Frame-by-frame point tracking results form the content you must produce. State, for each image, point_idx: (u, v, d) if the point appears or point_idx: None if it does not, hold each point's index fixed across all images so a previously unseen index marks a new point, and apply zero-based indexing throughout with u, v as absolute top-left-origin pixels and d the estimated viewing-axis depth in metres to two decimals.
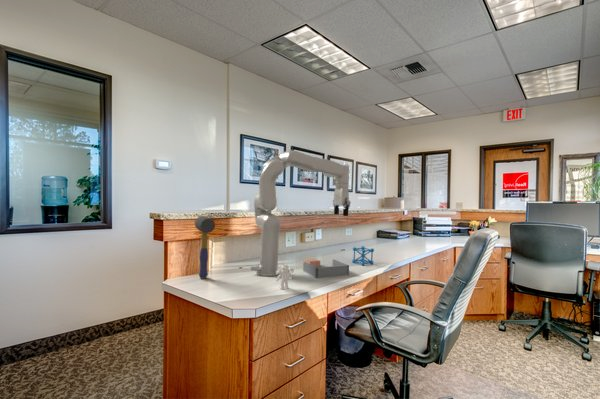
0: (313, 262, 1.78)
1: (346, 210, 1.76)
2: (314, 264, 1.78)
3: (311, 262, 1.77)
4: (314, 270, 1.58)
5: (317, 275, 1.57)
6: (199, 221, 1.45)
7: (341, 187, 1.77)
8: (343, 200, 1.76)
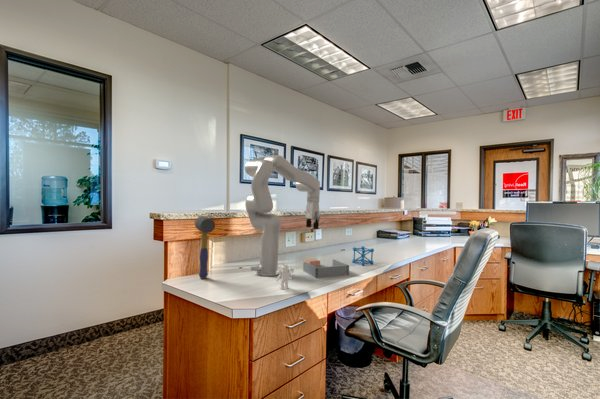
0: (313, 262, 1.78)
1: (316, 223, 1.82)
2: (314, 264, 1.78)
3: (311, 262, 1.77)
4: (314, 270, 1.58)
5: (317, 275, 1.57)
6: (199, 221, 1.45)
7: (312, 201, 1.84)
8: (313, 214, 1.82)
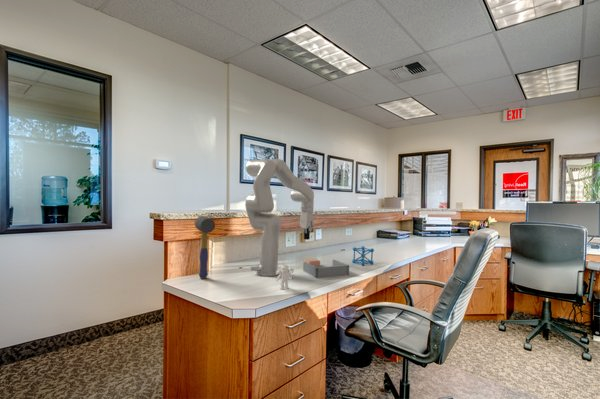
0: (313, 262, 1.78)
1: (307, 234, 1.88)
2: (314, 264, 1.78)
3: (311, 262, 1.77)
4: (314, 270, 1.58)
5: (317, 275, 1.57)
6: (199, 221, 1.45)
7: (306, 211, 1.85)
8: (308, 224, 1.84)
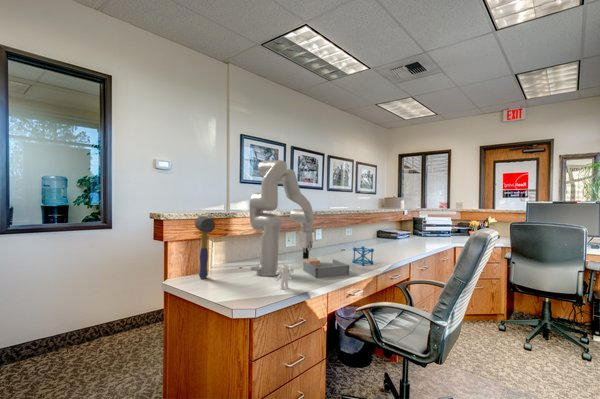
0: (313, 262, 1.78)
1: (306, 254, 1.88)
2: (314, 264, 1.78)
3: (310, 262, 1.77)
4: (314, 270, 1.58)
5: (317, 275, 1.57)
6: (199, 221, 1.45)
7: (305, 231, 1.85)
8: (307, 244, 1.84)
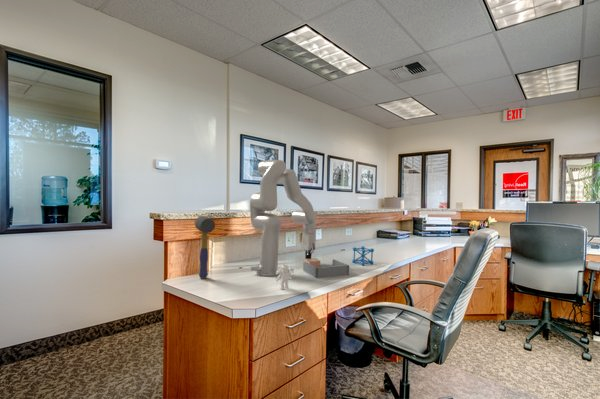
0: (313, 262, 1.77)
1: (309, 256, 1.85)
2: (314, 264, 1.78)
3: (311, 262, 1.77)
4: (314, 270, 1.58)
5: (317, 275, 1.57)
6: (199, 221, 1.45)
7: (308, 233, 1.82)
8: (309, 246, 1.80)
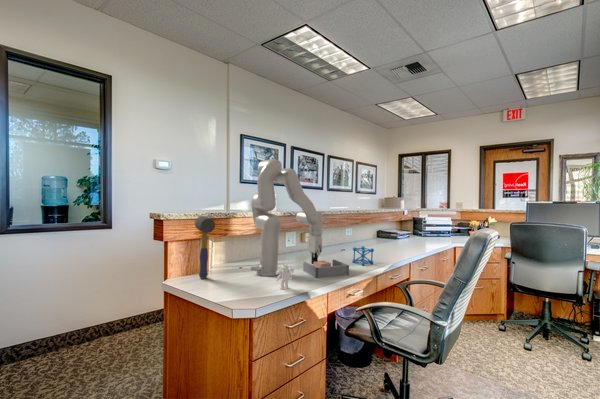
0: (324, 265, 1.72)
1: (315, 259, 1.78)
2: None
3: (322, 265, 1.71)
4: (314, 270, 1.58)
5: (317, 275, 1.57)
6: (199, 221, 1.45)
7: (314, 234, 1.75)
8: (316, 248, 1.73)
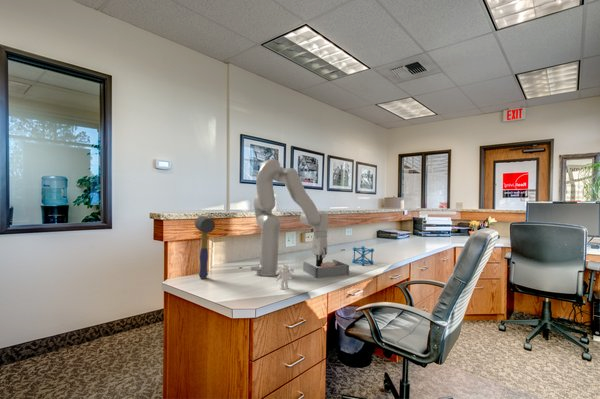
0: None
1: (320, 261, 1.72)
2: None
3: None
4: (314, 270, 1.58)
5: (317, 275, 1.57)
6: (199, 221, 1.45)
7: (319, 236, 1.69)
8: (321, 250, 1.68)
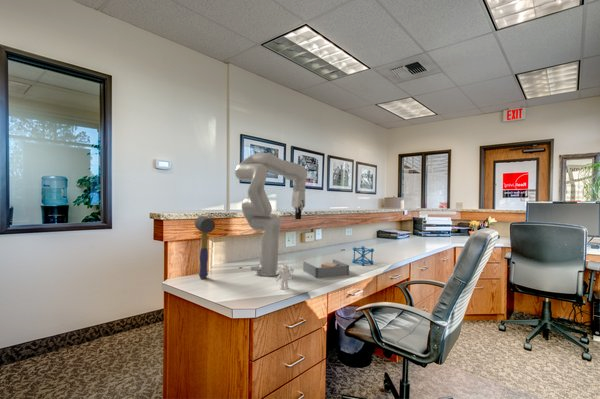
0: None
1: (299, 214, 1.85)
2: None
3: None
4: (314, 270, 1.58)
5: (317, 275, 1.57)
6: (199, 221, 1.45)
7: (297, 190, 1.82)
8: (299, 202, 1.81)
